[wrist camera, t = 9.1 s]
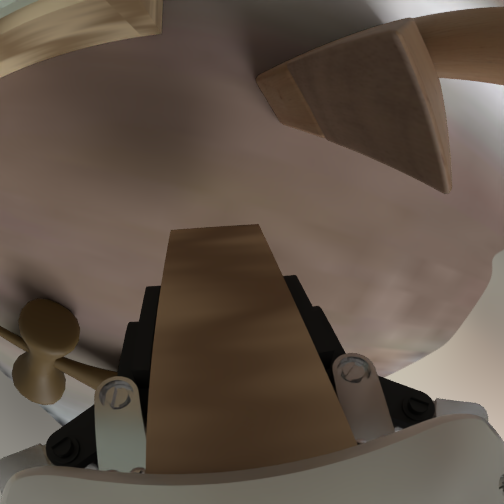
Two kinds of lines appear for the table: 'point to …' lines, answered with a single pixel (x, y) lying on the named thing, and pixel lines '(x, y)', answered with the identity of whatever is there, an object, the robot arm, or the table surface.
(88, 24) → the wooden box
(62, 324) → the kendama
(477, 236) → the table surface
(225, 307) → the wooden square column
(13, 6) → the lid
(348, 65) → the wooden block
